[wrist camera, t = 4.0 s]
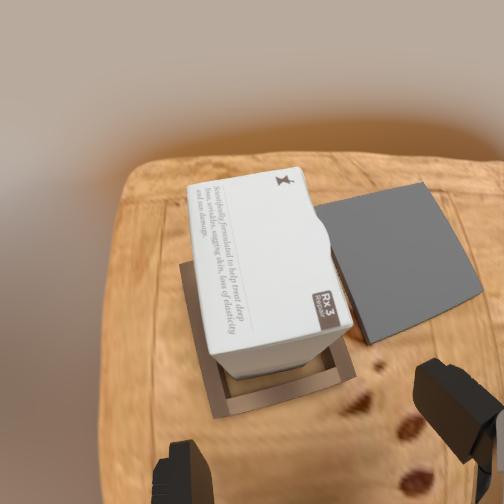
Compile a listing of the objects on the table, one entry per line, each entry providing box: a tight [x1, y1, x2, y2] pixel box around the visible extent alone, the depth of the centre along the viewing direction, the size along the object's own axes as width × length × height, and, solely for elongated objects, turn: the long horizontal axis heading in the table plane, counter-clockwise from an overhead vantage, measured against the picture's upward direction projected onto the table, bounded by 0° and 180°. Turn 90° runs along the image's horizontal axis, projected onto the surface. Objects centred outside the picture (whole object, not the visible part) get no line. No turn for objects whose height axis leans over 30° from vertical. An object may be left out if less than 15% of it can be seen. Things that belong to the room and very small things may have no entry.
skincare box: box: [187, 167, 353, 380], centre depth 19 cm, size 8×6×15 cm
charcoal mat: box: [314, 182, 484, 346], centre depth 28 cm, size 14×14×1 cm
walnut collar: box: [179, 260, 357, 419], centre depth 24 cm, size 10×12×4 cm
